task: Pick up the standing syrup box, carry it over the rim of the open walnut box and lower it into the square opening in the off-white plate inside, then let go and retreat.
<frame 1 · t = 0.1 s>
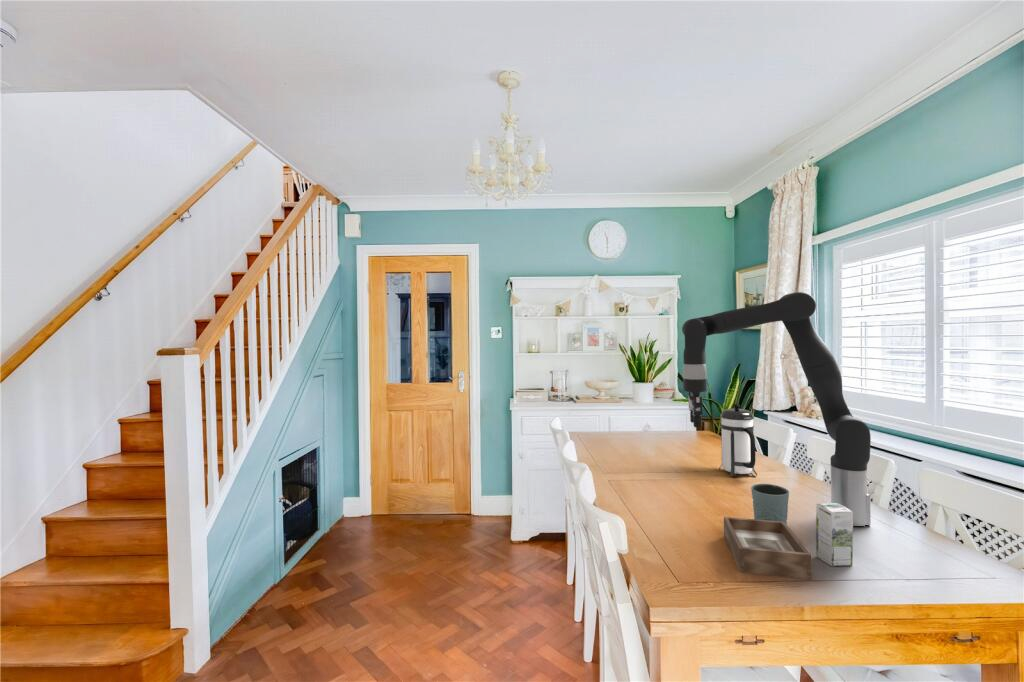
hand: (695, 424, 153), 29 cm above the table, tool pointing down, fingers open, 8 cm apart
socket box: (763, 556, 121), on the table
syrup box: (834, 562, 118), on the table
coffee press: (740, 474, 190), on the table
blue-grey cup: (770, 528, 139), on the table
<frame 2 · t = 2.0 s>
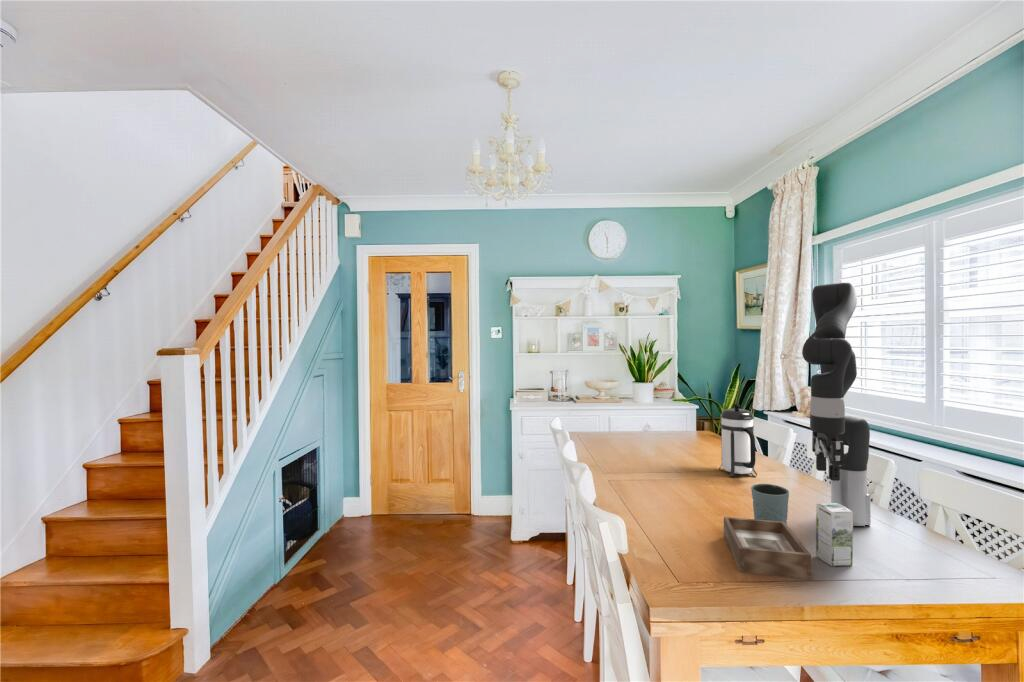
hand: (827, 475, 119), 22 cm above the table, tool pointing down, fingers open, 8 cm apart
nothing on the table moved.
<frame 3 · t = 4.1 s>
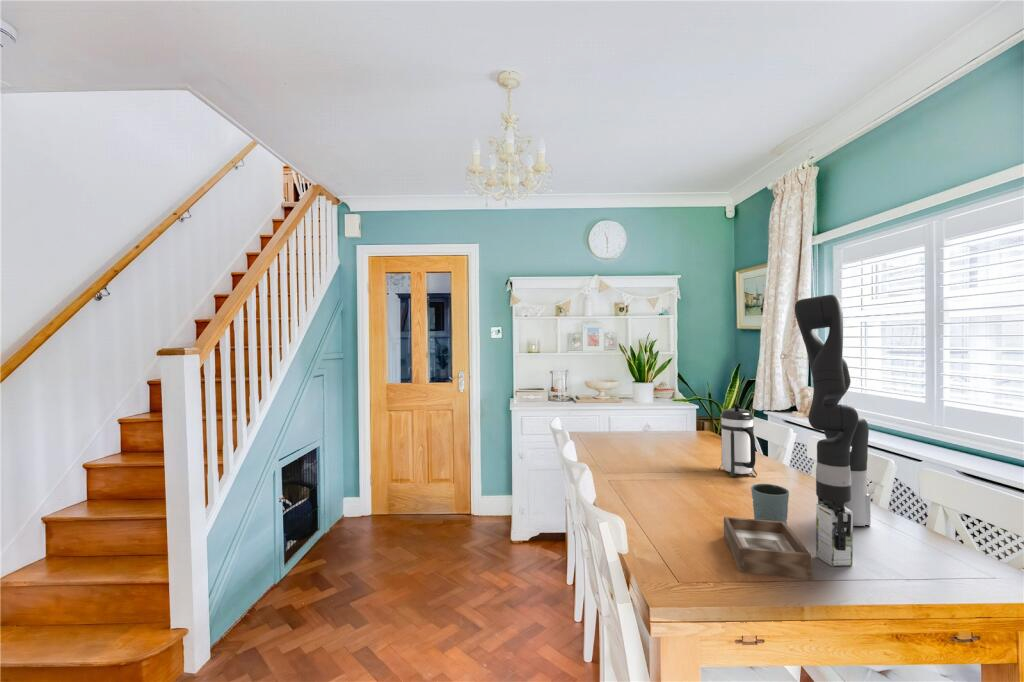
hand: (833, 543, 118), 5 cm above the table, tool pointing down, fingers closed on syrup box, 6 cm apart
syrup box: (834, 562, 118), on the table, touching gripper
everything else where it was.
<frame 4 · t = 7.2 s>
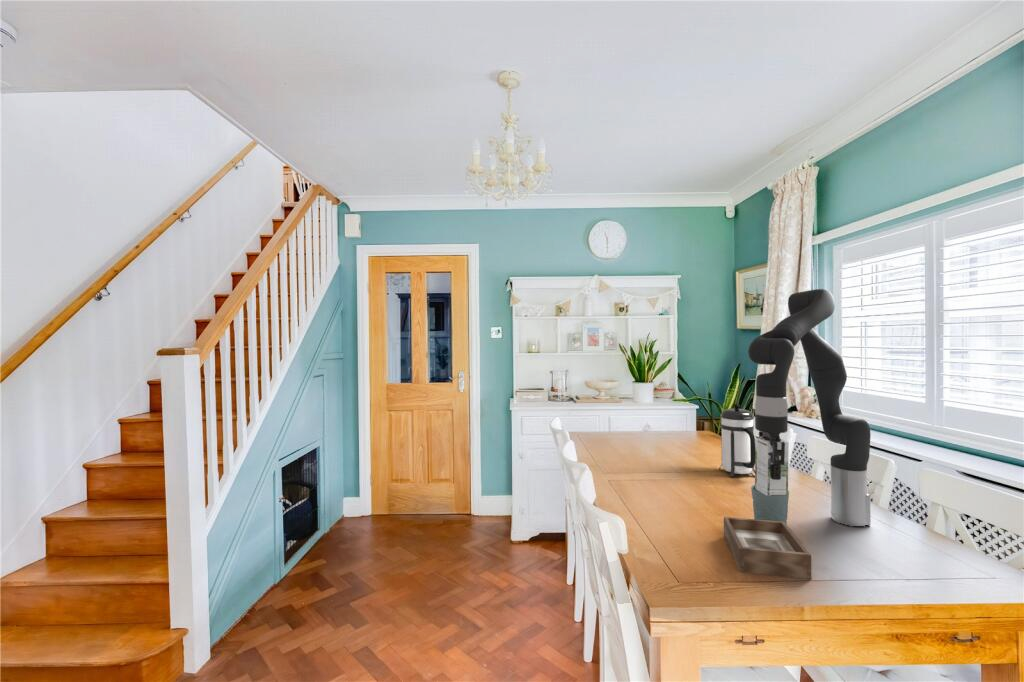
hand: (771, 474, 120), 22 cm above the table, tool pointing down, fingers closed on syrup box, 6 cm apart
syrup box: (771, 493, 120), point 17 cm above the table, touching gripper
everything else where it was.
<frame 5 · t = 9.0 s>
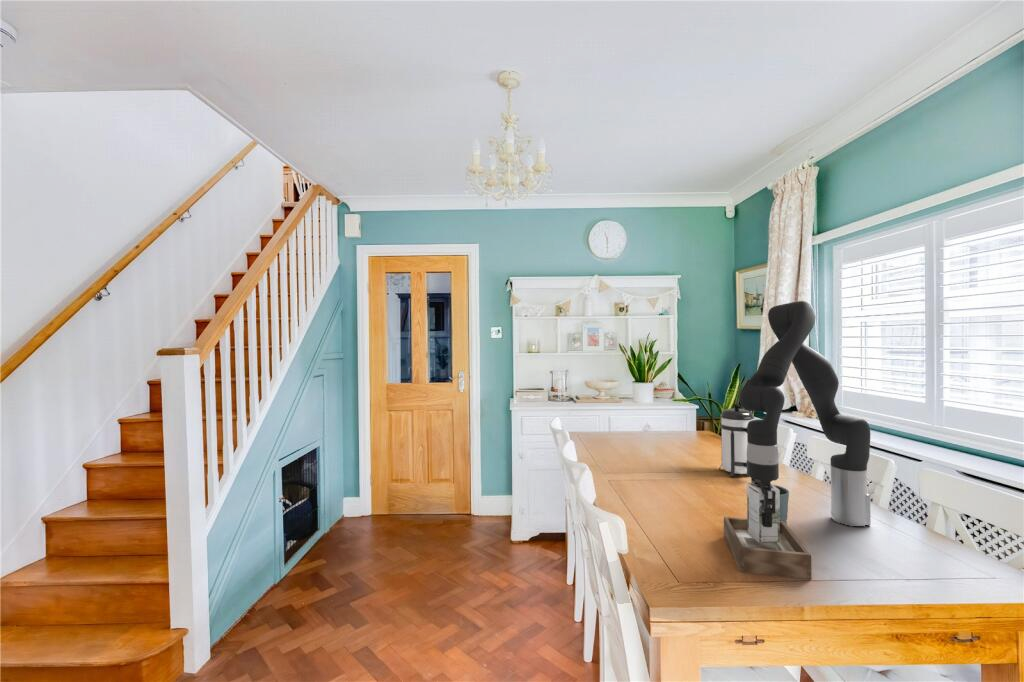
hand: (763, 520, 121), 10 cm above the table, tool pointing down, fingers closed on syrup box, 6 cm apart
syrup box: (763, 539, 121), point 5 cm above the table, touching gripper
everything else where it was.
when the fingers open (6 cm above the table, at t = 10.4 s): syrup box stays where it is, resting in socket box.
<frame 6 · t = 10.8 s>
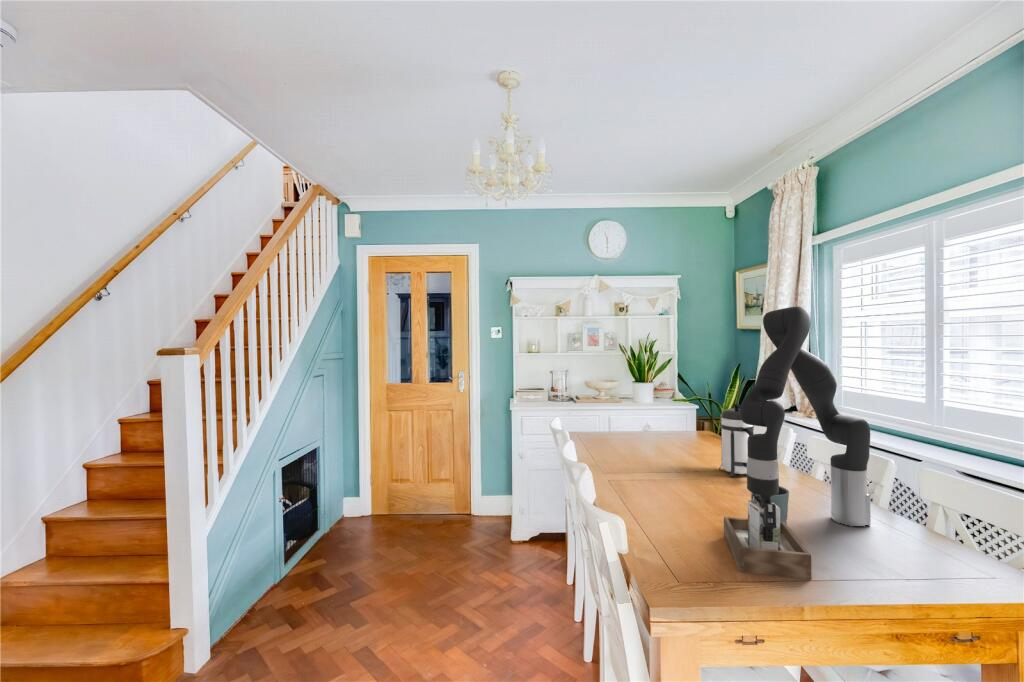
hand: (763, 533, 121), 6 cm above the table, tool pointing down, fingers open, 8 cm apart
syrup box: (764, 557, 121), resting in socket box
everything else where it was.
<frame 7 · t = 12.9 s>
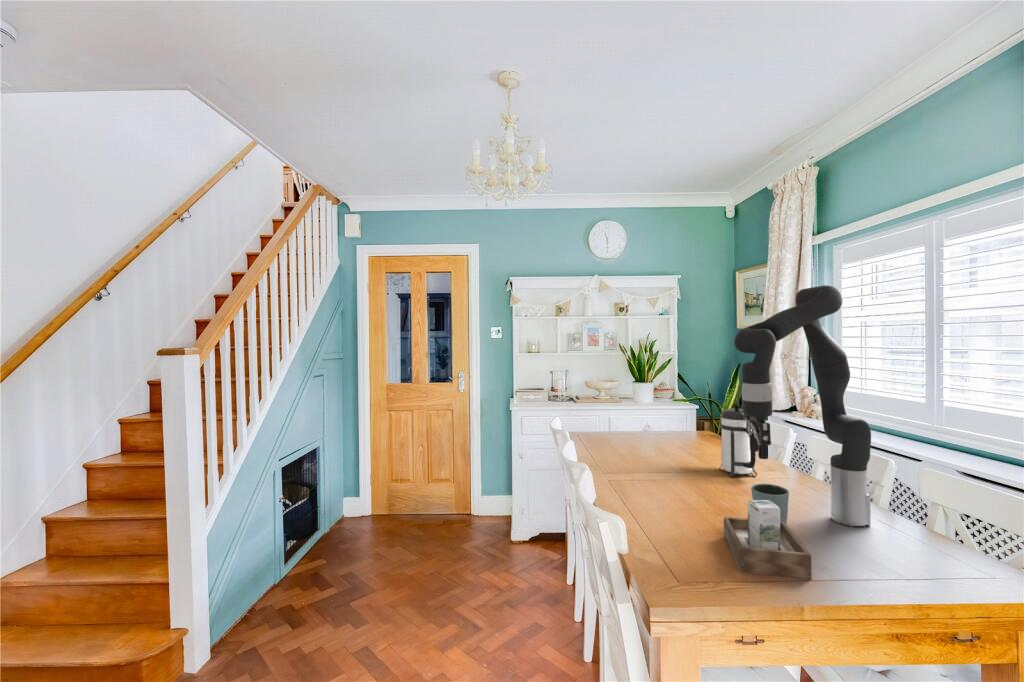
hand: (758, 454, 129), 25 cm above the table, tool pointing down, fingers open, 8 cm apart
nothing on the table moved.
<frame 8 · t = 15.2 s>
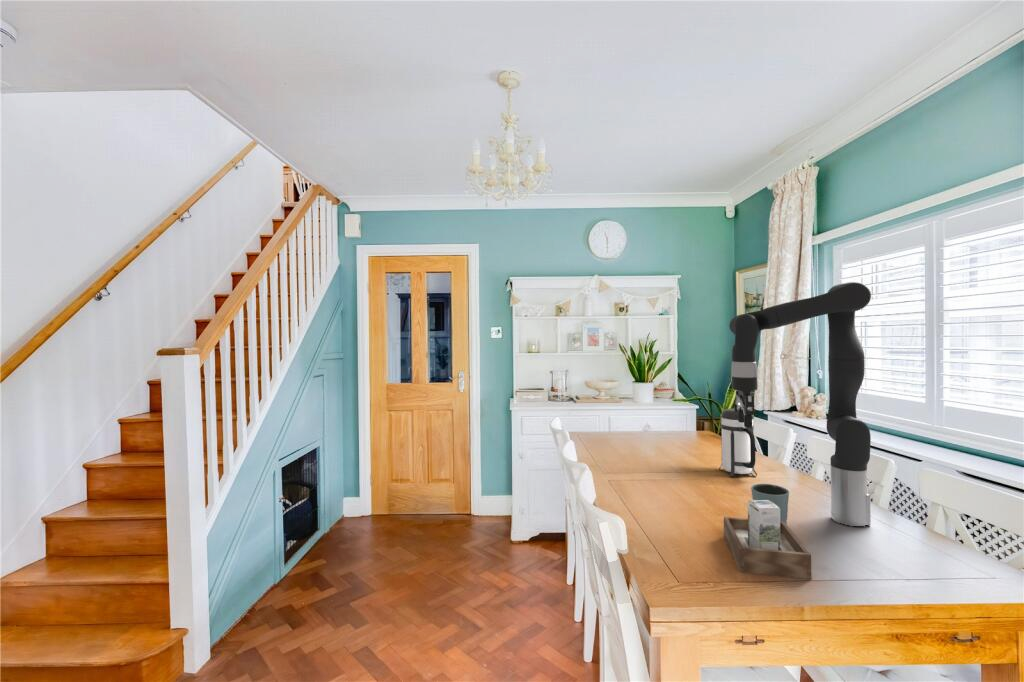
hand: (744, 424, 147), 30 cm above the table, tool pointing down, fingers open, 8 cm apart
nothing on the table moved.
at the end: syrup box 0.1 cm off-centre on the socket box, point 0.0 cm above the socket box's base; syrup box tilted 0°; the gripper is holding nothing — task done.
